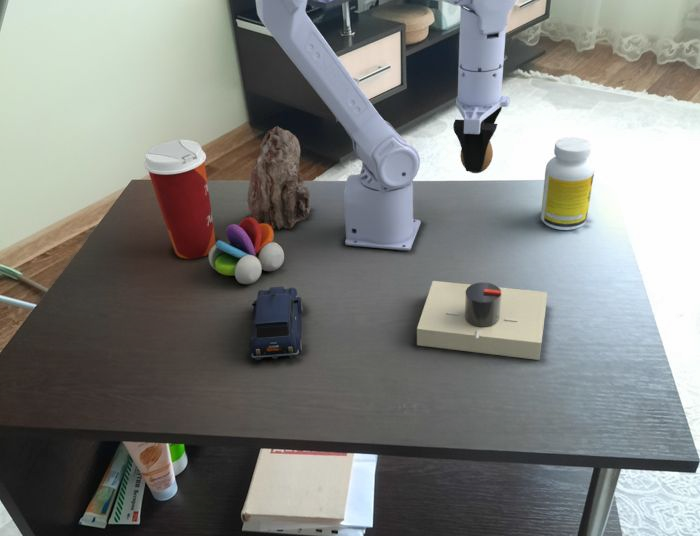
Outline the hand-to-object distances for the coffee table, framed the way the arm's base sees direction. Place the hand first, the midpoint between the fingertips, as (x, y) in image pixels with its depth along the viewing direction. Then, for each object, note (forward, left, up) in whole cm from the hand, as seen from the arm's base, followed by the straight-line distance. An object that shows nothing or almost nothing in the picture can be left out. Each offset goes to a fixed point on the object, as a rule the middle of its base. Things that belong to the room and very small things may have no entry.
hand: (475, 162), depth 103 cm
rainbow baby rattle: (-28, -19, -9) cm, 35 cm away
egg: (0, 0, -2) cm, 2 cm away
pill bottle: (+13, +1, -9) cm, 15 cm away
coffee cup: (-38, -15, -8) cm, 42 cm away
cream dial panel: (+5, -26, -8) cm, 28 cm away
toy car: (-19, -32, -8) cm, 39 cm away
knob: (+5, -28, -6) cm, 29 cm away
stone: (-28, -6, -9) cm, 30 cm away
